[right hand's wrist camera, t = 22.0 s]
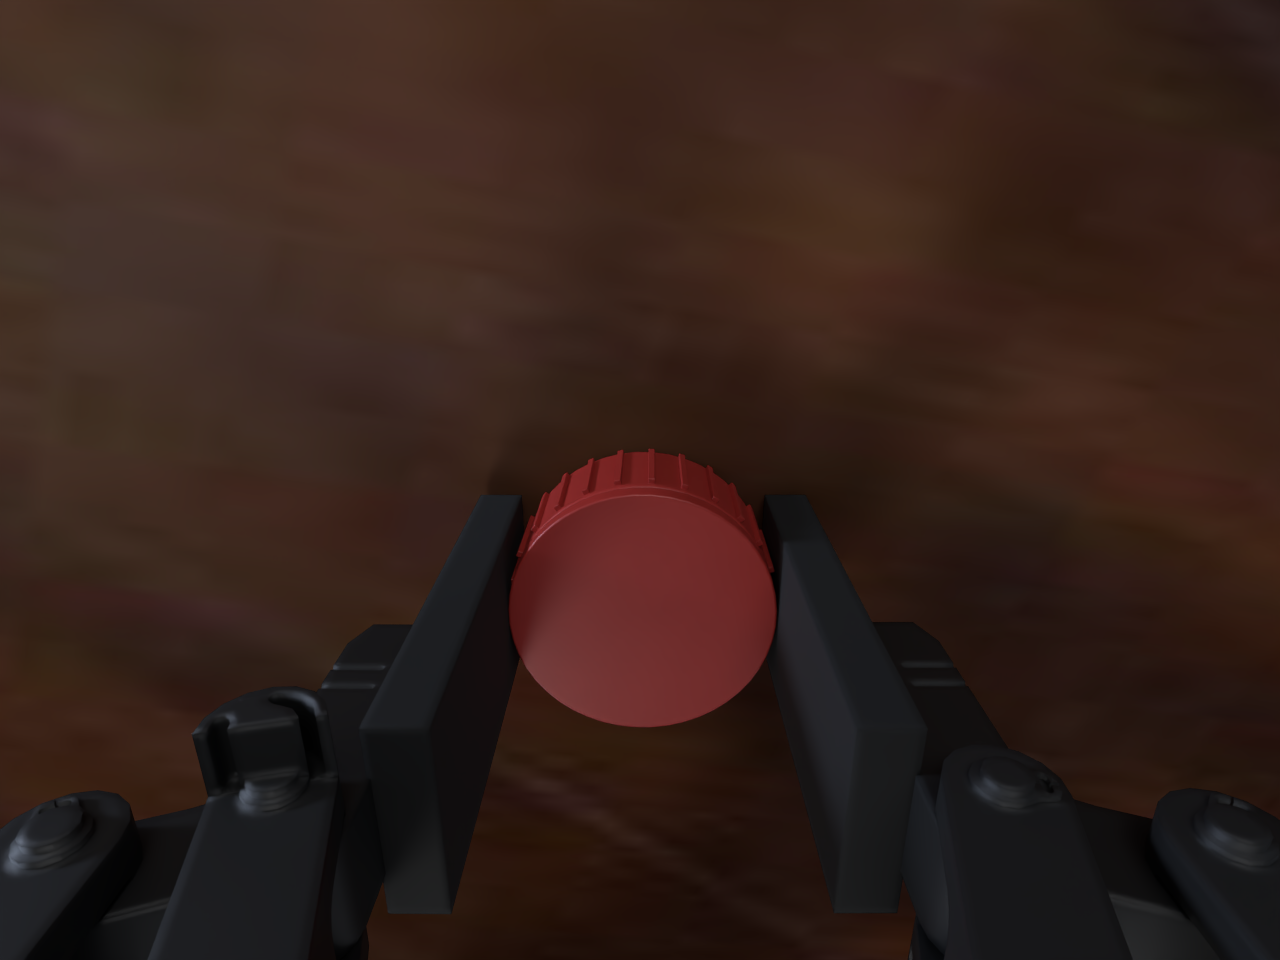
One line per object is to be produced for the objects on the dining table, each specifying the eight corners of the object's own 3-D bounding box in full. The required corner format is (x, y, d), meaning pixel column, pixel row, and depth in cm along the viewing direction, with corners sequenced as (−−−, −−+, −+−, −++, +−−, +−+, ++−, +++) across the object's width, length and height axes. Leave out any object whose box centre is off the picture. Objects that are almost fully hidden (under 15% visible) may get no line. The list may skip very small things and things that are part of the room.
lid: (522, 655, 16) (504, 724, 14) (524, 438, 14) (503, 480, 12) (749, 669, 16) (763, 739, 14) (778, 454, 14) (799, 499, 12)
